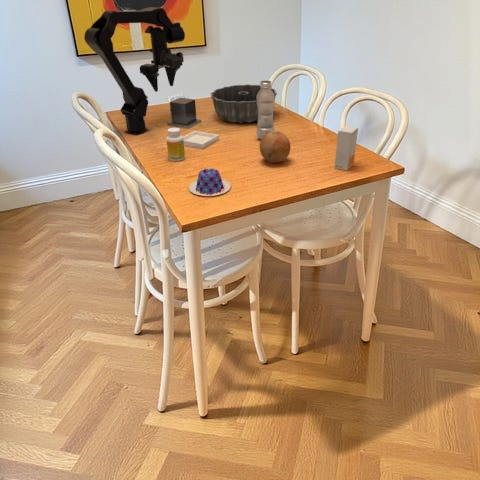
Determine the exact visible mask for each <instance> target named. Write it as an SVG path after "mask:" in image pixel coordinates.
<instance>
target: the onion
mask: <svg viewBox="0 0 480 480" xmlns="http://www.w3.org/2000/svg"><path fill="white" fill-rule="evenodd" d="M259 152H260V155H261V156H262V158H263V159H265V160H266V161H268V162H270V163H273V164H276V163H281V162H283V161H284V160H286V159H287V158H288V157H289V156H290V153H291V141H290V140H289V137H288V136H287V135H286V134H285V133H284V132H281V131H279V130H274V131H270V132H267V133H266V134H265V135H264V136H263V138H262V140H260V143H259Z"/></svg>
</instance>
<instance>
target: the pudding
mask: <svg viewBox="0 0 480 480" xmlns="http://www.w3.org/2000/svg"><path fill="white" fill-rule="evenodd" d="M224 185H225V187H224ZM231 187H232V184H231V183H230V182H229V181H228V180H226V179H224V178H222V176H221V174H220V171H219V170H218V169H215V168H204V169H201V170H200V171H199V173H198V176H197V180H194V181H193V182H191V183H190V185H189V186H188V190H189V191H190V192H191V193H192V194H195V195H198V196H204V197H212V196H218V195H223V194H225V193H227V192H229V190H230V189H231ZM224 188H225V190H224ZM222 189H223V190H224V191H223V190H222ZM196 191H197V192H196ZM222 191H223V192H222ZM218 192H219V193H218ZM220 192H221V193H220ZM200 193H202V194H200ZM205 193H206V194H208V195H206V194H205ZM216 193H217V194H216ZM209 194H212V195H209Z"/></svg>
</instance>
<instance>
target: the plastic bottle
mask: <svg viewBox="0 0 480 480" xmlns="http://www.w3.org/2000/svg"><path fill="white" fill-rule="evenodd" d="M259 83H260V84H259V85H260V88H261V90H260V91H259V92H258V94H257V97H256V100H257V107H258V121H257V125H256V131H255V132H256V138H257V139H258V140H260V141H261V140H262V138H263V136H264V135H265V134H266V133H267V132H270V131H275V125H274V108H275V103H276V102H275V101H276V97H275V96H274V94H273V92H272V90H271V88H272V81H270V80H261V81H260V82H259ZM274 102H275V103H274Z"/></svg>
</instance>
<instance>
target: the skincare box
mask: <svg viewBox="0 0 480 480" xmlns="http://www.w3.org/2000/svg"><path fill="white" fill-rule="evenodd" d="M358 133H359V127H358V126H354V125H353V126H352V125H343V127H341V128H340V129H339V130H338V132H337V141H336V150H335V157H334V169H337V170H343V171H348V170H349V169H350V168H351V167H353V165H354V163H355V156H356V150H357V141H358Z"/></svg>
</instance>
